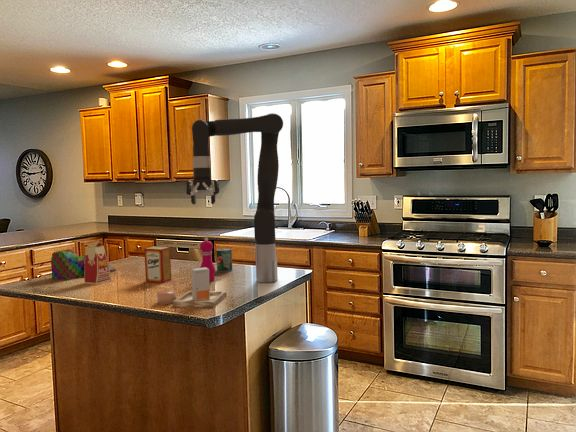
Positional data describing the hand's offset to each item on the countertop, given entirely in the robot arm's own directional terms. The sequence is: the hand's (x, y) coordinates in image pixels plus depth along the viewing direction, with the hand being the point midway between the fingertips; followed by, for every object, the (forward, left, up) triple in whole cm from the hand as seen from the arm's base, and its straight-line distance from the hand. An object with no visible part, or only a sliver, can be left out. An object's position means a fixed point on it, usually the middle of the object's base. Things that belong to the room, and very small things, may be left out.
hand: (203, 204), depth 213 cm
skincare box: (-7, +27, -36) cm, 45 cm away
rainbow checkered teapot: (+72, -19, -37) cm, 83 cm away
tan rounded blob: (+6, +29, -36) cm, 47 cm away
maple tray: (-7, +27, -36) cm, 46 cm away
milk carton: (+55, -3, -36) cm, 66 cm away
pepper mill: (+3, -10, -36) cm, 38 cm away
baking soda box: (+26, -7, -36) cm, 45 cm away
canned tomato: (+2, -33, -36) cm, 49 cm away
